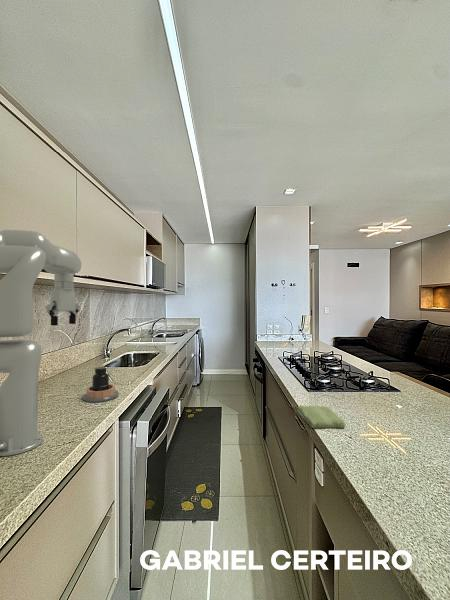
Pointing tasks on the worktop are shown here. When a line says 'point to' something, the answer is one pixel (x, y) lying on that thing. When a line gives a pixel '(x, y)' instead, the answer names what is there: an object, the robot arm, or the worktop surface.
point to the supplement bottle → (100, 379)
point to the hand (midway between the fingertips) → (63, 324)
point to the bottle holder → (100, 395)
